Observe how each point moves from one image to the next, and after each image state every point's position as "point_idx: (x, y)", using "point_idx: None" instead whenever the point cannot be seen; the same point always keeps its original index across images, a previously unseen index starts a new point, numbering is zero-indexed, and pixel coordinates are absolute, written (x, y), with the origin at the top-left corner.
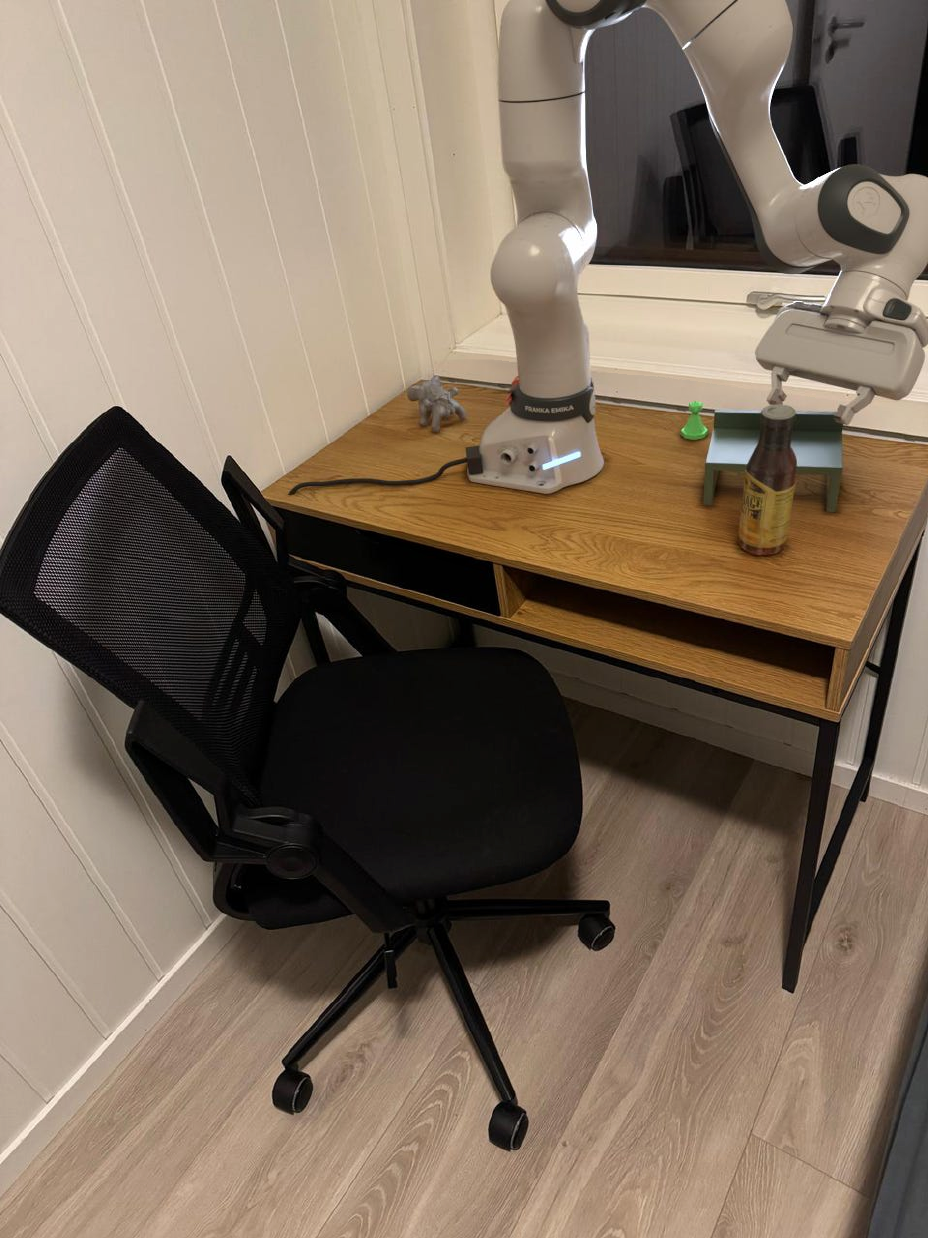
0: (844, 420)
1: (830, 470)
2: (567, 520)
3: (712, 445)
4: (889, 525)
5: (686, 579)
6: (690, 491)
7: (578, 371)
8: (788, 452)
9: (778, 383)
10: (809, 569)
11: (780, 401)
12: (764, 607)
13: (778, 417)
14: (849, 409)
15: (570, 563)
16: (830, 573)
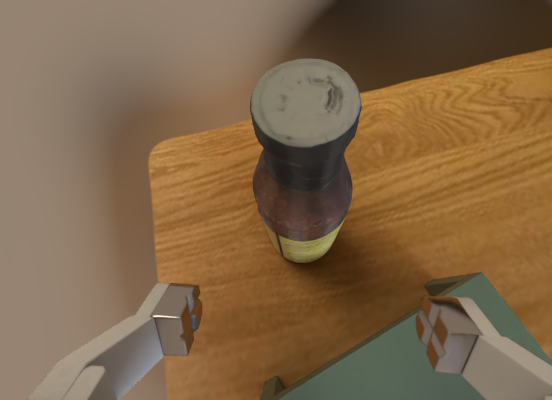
0: (160, 282)
1: (276, 397)
2: (534, 140)
3: (535, 349)
4: (181, 394)
5: None
6: None
7: None
8: (264, 163)
9: (508, 377)
10: (226, 223)
11: (425, 326)
12: (233, 137)
13: (281, 68)
14: (140, 307)
15: (445, 83)
16: (202, 230)
